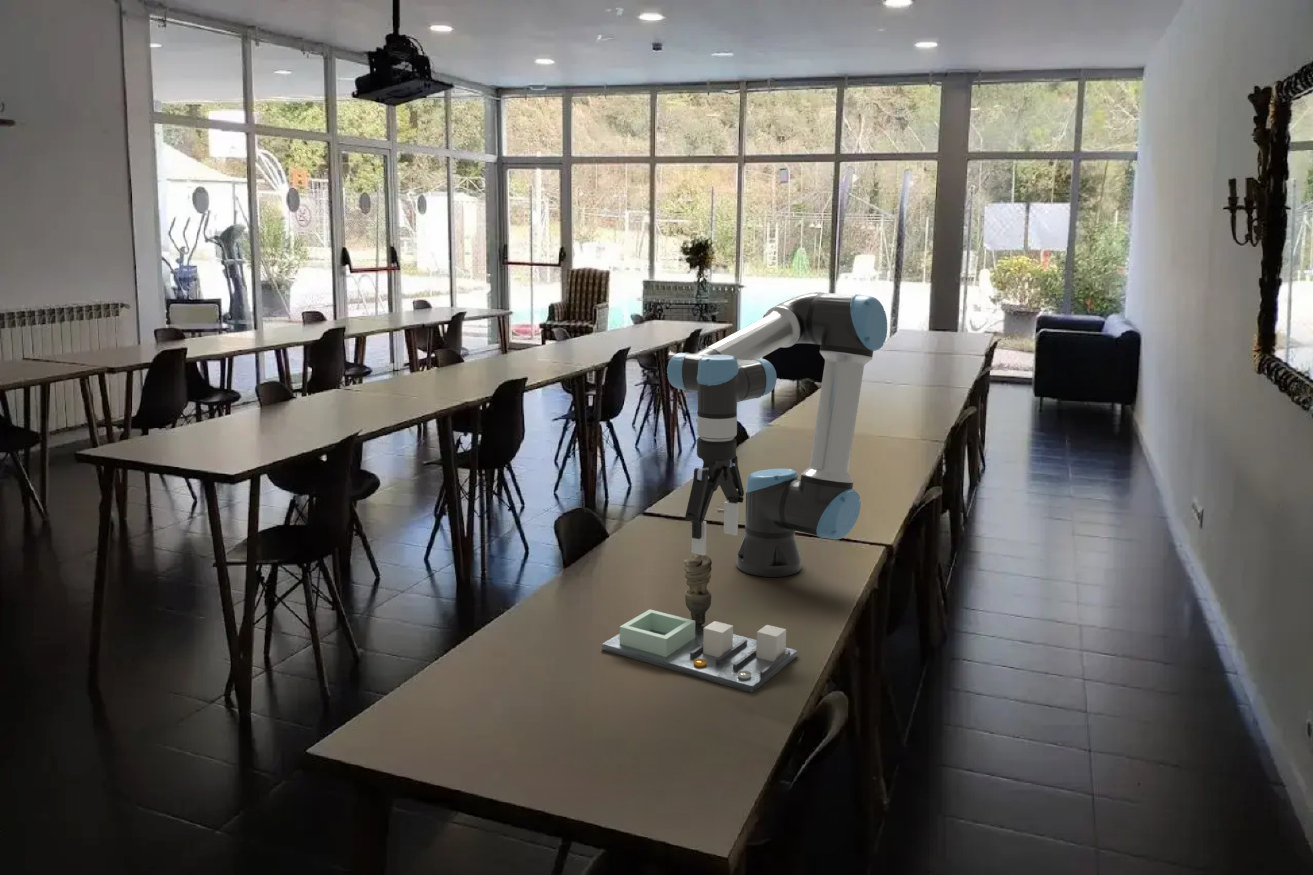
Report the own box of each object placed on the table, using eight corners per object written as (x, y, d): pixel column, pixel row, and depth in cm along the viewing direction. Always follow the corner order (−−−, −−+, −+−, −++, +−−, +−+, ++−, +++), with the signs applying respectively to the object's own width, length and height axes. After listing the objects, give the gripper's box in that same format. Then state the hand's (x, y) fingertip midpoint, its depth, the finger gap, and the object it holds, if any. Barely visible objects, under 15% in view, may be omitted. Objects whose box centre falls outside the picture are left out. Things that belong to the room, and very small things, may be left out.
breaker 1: (713, 645, 192) (714, 621, 191) (732, 650, 190) (733, 625, 189) (703, 653, 189) (703, 628, 188) (722, 658, 187) (722, 632, 186)
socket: (649, 626, 201) (649, 609, 201) (694, 637, 196) (695, 620, 195) (619, 643, 193) (619, 626, 192) (666, 656, 187) (666, 639, 187)
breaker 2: (766, 649, 191) (766, 624, 190) (785, 654, 189) (786, 629, 188) (756, 657, 188) (756, 631, 187) (775, 662, 186) (776, 636, 185)
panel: (653, 619, 208) (653, 609, 208) (796, 656, 191) (797, 645, 191) (602, 649, 193) (602, 638, 193) (752, 692, 176) (752, 681, 176)
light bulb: (687, 632, 202) (688, 560, 198) (679, 621, 207) (680, 551, 204) (714, 629, 203) (715, 557, 200) (705, 619, 208) (707, 549, 205)
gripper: (728, 423, 206) (726, 523, 211) (666, 448, 185) (666, 559, 190) (762, 427, 202) (759, 529, 207) (703, 453, 181) (702, 566, 186)
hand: (715, 543), depth 198 cm, fingers open, 13 cm apart
